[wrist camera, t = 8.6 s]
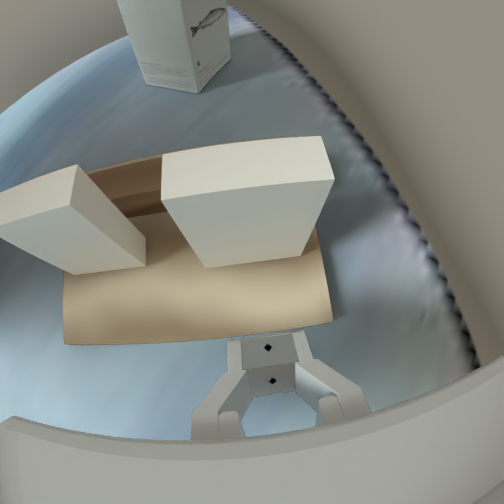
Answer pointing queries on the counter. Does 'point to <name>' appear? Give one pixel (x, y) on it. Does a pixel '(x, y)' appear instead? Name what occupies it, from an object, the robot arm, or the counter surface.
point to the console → (185, 279)
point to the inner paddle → (70, 224)
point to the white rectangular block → (247, 197)
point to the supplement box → (178, 40)
